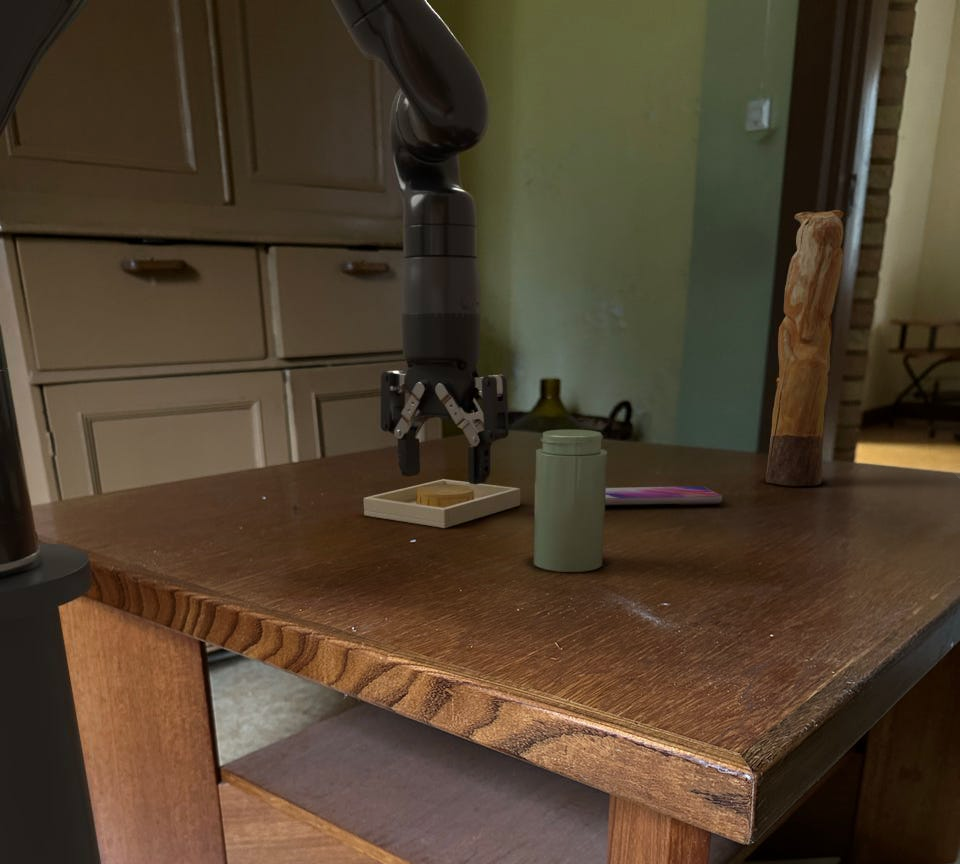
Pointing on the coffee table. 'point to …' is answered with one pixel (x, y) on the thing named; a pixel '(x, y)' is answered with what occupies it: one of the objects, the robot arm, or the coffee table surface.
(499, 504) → the tray
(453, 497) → the jar lid
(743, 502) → the coffee table surface
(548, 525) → the jar
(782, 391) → the sculpture
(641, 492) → the smartphone
